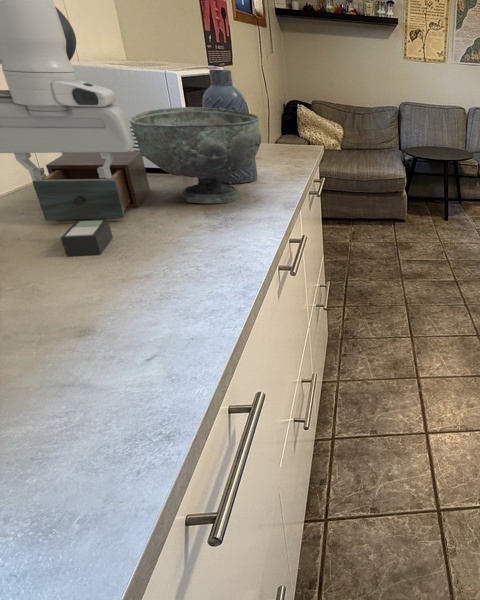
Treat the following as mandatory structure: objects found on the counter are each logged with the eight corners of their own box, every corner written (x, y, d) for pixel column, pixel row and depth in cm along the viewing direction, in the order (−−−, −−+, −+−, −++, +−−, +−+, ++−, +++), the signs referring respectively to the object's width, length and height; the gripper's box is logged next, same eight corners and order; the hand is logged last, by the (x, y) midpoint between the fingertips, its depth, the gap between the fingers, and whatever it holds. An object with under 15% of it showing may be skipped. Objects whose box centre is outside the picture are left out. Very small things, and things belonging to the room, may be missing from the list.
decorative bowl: (273, 182, 132) (262, 106, 122) (266, 211, 111) (252, 122, 101) (169, 186, 126) (148, 106, 116) (140, 217, 104) (112, 122, 95)
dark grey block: (66, 256, 81) (60, 236, 80) (81, 238, 89) (76, 220, 87) (100, 254, 83) (95, 235, 82) (113, 237, 91) (108, 219, 89)
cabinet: (138, 207, 107) (127, 164, 103) (60, 210, 102) (45, 165, 98) (150, 189, 120) (141, 151, 115) (81, 191, 115) (69, 150, 110)
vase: (255, 184, 131) (241, 72, 118) (207, 184, 128) (188, 69, 115) (260, 174, 142) (248, 70, 129) (216, 173, 139) (199, 67, 126)
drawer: (122, 219, 97) (113, 181, 93) (43, 222, 92) (29, 182, 89) (137, 198, 110) (129, 164, 106) (68, 200, 105) (57, 165, 102)
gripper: (-49, 90, 68) (-12, 185, 75) (116, 95, 75) (137, 181, 82) (-29, 87, 73) (5, 176, 80) (124, 91, 80) (144, 173, 87)
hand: (73, 178), depth 81 cm, fingers open, 8 cm apart
